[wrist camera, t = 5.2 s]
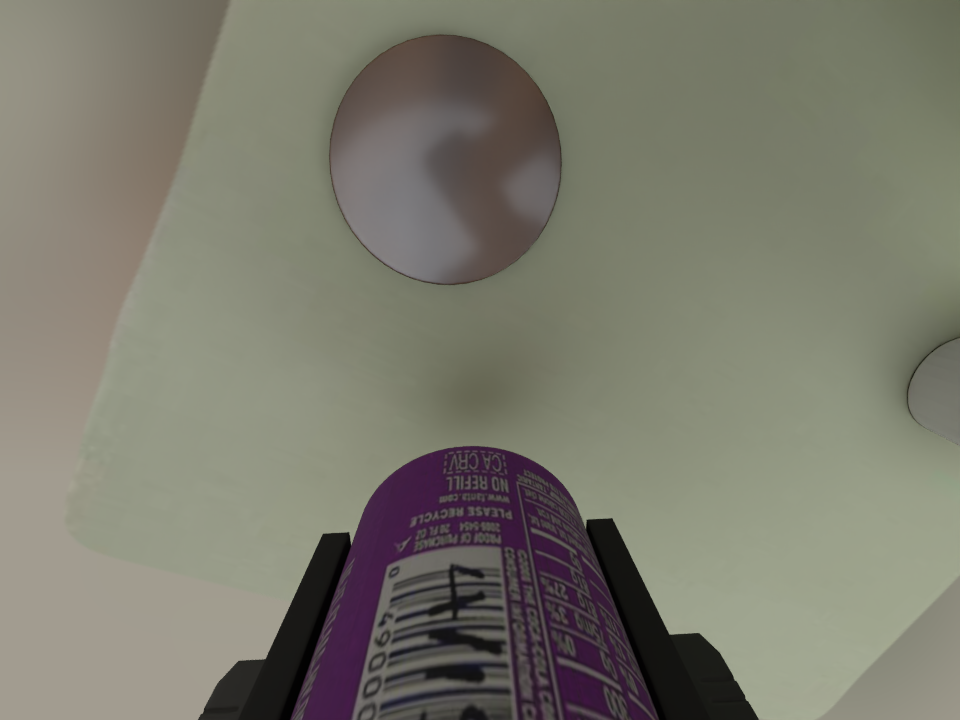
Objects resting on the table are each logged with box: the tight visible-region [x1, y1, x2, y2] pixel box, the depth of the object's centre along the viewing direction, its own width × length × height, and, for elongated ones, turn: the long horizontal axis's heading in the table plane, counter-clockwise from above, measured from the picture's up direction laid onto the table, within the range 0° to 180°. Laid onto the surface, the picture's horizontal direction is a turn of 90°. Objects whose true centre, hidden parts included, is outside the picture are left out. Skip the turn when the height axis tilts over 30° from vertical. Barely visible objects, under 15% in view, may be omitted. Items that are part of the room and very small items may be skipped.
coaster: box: [329, 35, 562, 285], centre depth 22 cm, size 11×11×1 cm
